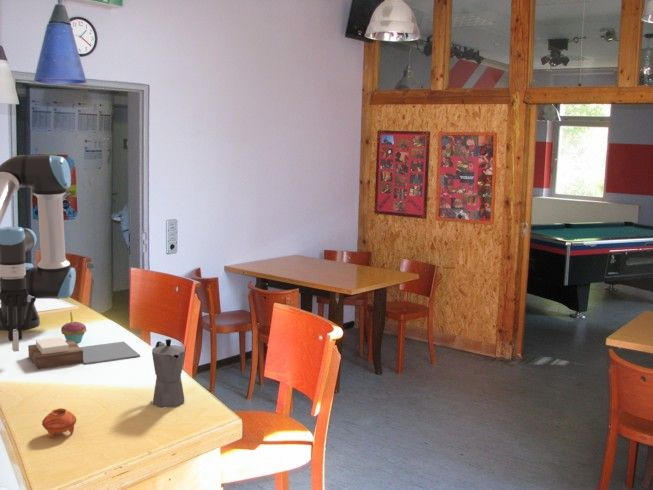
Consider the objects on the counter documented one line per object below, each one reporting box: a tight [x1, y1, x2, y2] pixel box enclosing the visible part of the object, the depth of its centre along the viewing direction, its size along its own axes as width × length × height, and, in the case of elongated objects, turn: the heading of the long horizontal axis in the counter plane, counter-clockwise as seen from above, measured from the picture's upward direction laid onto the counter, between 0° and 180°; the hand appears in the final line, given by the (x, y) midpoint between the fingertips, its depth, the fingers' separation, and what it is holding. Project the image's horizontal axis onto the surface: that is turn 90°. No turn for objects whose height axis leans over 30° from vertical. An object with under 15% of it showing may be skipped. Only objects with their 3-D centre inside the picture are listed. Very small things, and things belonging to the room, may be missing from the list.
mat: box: [79, 341, 141, 365], centre depth 243 cm, size 18×18×1 cm
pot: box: [41, 407, 77, 439], centre depth 178 cm, size 8×8×7 cm
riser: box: [27, 340, 84, 370], centre depth 235 cm, size 14×14×4 cm
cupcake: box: [60, 310, 87, 344], centre depth 254 cm, size 9×8×12 cm
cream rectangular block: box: [35, 336, 69, 354], centre depth 234 cm, size 10×8×2 cm
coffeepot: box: [151, 338, 186, 408], centre depth 201 cm, size 15×9×18 cm, turn 33°
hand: (15, 350), depth 228 cm, fingers closed
